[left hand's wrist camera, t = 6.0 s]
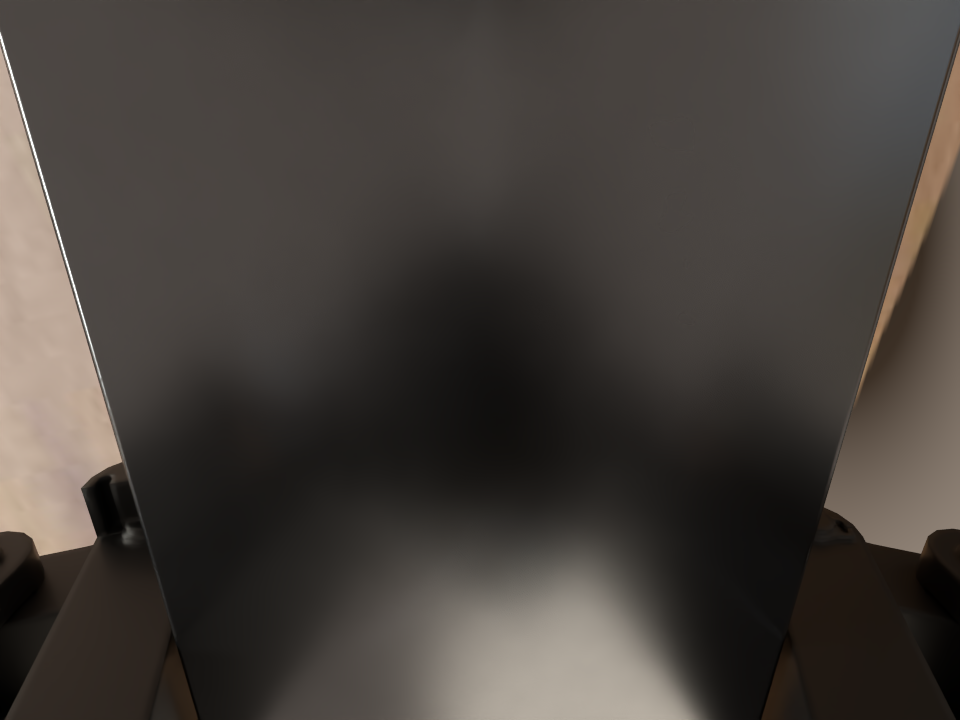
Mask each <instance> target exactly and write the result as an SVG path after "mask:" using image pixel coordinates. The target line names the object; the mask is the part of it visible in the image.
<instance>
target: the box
mask: <svg viewBox="0 0 960 720" xmlns="http://www.w3.org/2000/svg"><path fill="white" fill-rule="evenodd" d="M959 43H960V0H0V46H1V50H2V53H3V56H4V60H5V63H6V67H7V70H8V73H9V77H10V80H11V84H12V87H13V90H14V94H15V97H16V101H17V104H18V108H19V111H20V114H21V118H22V121H23V125H24V128H25V131H26V135H27V138H28V142H29V145H30V148H31V152H32V155H33V159H34V162H35V165H36V169H37V172H38V176H39V179H40V182H41V186H42V189H43V193H44V196H45V200H46V203H47V206H48V210H49V213H50V217H51V220H52V223H53V227H54V230H55V234H56V237H57V240H58V244H59V247H60V251H61V254H62V257H63V261H64V264H65V268H66V271H67V274H68V278H69V281H70V285H71V288H72V292H73V295H74V298H75V302H76V305H77V309H78V312H79V315H80V319H81V322H82V326H83V329H84V332H85V336H86V339H87V343H88V346H89V349H90V353H91V356H92V360H93V363H94V367H95V370H96V373H97V377H98V380H99V384H100V387H101V390H102V394H103V397H104V401H105V404H106V407H107V411H108V414H109V418H110V421H111V424H112V428H113V431H114V435H115V438H116V441H117V445H118V448H119V452H120V455H121V459H122V462H123V465H124V469H125V472H126V476H127V479H128V482H129V486H130V489H131V493H132V496H133V499H134V503H135V506H136V510H137V513H138V516H139V520H140V523H141V527H142V530H143V533H144V537H145V540H146V544H147V547H148V551H149V554H150V557H151V561H152V564H153V568H154V571H155V574H156V578H157V581H158V585H159V588H160V591H161V595H162V598H163V602H164V605H165V608H166V612H167V615H168V619H169V622H170V625H171V629H172V632H173V636H174V639H175V643H176V646H177V649H178V653H179V656H180V660H181V663H182V666H183V670H184V673H185V677H186V680H187V683H188V687H189V690H190V694H191V697H192V700H193V704H194V707H195V711H196V714H197V718H198V720H761V719H762V715H763V712H764V709H765V705H766V702H767V698H768V695H769V692H770V688H771V685H772V681H773V678H774V675H775V671H776V668H777V664H778V661H779V657H780V654H781V651H782V647H783V644H784V640H785V637H786V634H787V630H788V627H789V623H790V620H791V617H792V613H793V610H794V606H795V603H796V599H797V596H798V593H799V589H800V586H801V582H802V579H803V576H804V572H805V569H806V565H807V562H808V559H809V555H810V552H811V548H812V545H813V541H814V538H815V535H816V531H817V528H818V524H819V521H820V518H821V514H822V511H823V507H824V504H825V500H826V497H827V494H828V490H829V487H830V483H831V480H832V477H833V473H834V470H835V466H836V463H837V460H838V456H839V453H840V449H841V446H842V442H843V439H844V436H845V432H846V429H847V425H848V422H849V419H850V415H851V412H852V408H853V405H854V402H855V398H856V395H857V391H858V388H859V385H860V381H861V378H862V374H863V371H864V367H865V364H866V361H867V357H868V354H869V350H870V347H871V344H872V340H873V337H874V333H875V330H876V327H877V323H878V320H879V316H880V313H881V309H882V306H883V303H884V299H885V296H886V292H887V289H888V286H889V282H890V279H891V275H892V272H893V269H894V265H895V262H896V258H897V255H898V251H899V248H900V245H901V241H902V238H903V234H904V231H905V228H906V224H907V221H908V217H909V214H910V211H911V207H912V204H913V200H914V197H915V193H916V190H917V187H918V183H919V180H920V176H921V173H922V170H923V166H924V163H925V159H926V156H927V153H928V149H929V146H930V142H931V139H932V135H933V132H934V129H935V125H936V122H937V118H938V115H939V112H940V108H941V105H942V101H943V98H944V95H945V91H946V88H947V84H948V81H949V77H950V74H951V71H952V67H953V64H954V60H955V57H956V54H957V50H958V47H959Z"/></svg>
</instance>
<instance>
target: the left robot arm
mask: <svg viewBox="0 0 960 720" xmlns="http://www.w3.org/2000/svg"><path fill="white" fill-rule="evenodd" d="M81 490H82V493H83V496H84V499H85V502H86V505H87V508H88V511H89V514H90V517H91V520H92V523H93V526H94V529H95V532H96V535H97V539H96V541H95V543H94V545H91V546H87V547H83V548H78V549H73V550H68V551H63V552H58V553H53V554H48V555H43V556H39V555H38V552H37V549H36V547H35V544H34V542H33V539H32V538H30V537H29V536H28V535H26V534H25V533H21V532H10V531H6V532H0V720H198V718H197V714H196V711H195V707H194V704H193V700H192V697H191V694H190V690H189V687H188V683H187V680H186V677H185V673H184V670H183V666H182V663H181V660H180V656H179V653H178V649H177V646H176V643H175V639H174V636H173V632H172V629H171V625H170V622H169V619H168V615H167V612H166V608H165V605H164V602H163V598H162V595H161V591H160V588H159V585H158V581H157V578H156V574H155V571H154V568H153V564H152V561H151V557H150V554H149V551H148V547H147V544H146V540H145V537H144V533H143V530H142V527H141V523H140V520H139V516H138V513H137V510H136V506H135V503H134V499H133V496H132V493H131V489H130V486H129V482H128V479H127V476H126V472H125V469H124V465H123V462H121V463H119V464H116V465H114V466H111V467H109V468H107V469H105V470H103V471H102V472H100V473H98V474H97V475H95V476H93V477H92V478H91V479H90V480H89V481H88V482H87V483H86V484H85V485H84V486H83V487H82V488H81ZM761 720H960V530H958V529H945V530H936V531H935V532H934V533H932V534H931V535H929V536H928V538H927V540H926V543H925V546H924V548H923V551H922V553H921V554H919V553H914V552H909V551H904V550H899V549H894V548H889V547H884V546H879V545H874V544H870V543H867V542H865V540H864V538H863V536H862V535H861V534H860V533H859V531H858V530H857V529H856V528H855V526H854V525H853V524H852V523H850V522H849V521H847V520H846V519H844V518H843V517H842V516H840V515H839V514H837V513H835V512H833V511H830V510H828V509H826V508H824V507H823V511H822V514H821V518H820V521H819V524H818V528H817V531H816V535H815V538H814V541H813V545H812V548H811V552H810V555H809V559H808V562H807V565H806V569H805V572H804V576H803V579H802V582H801V586H800V589H799V593H798V596H797V599H796V603H795V606H794V610H793V613H792V617H791V620H790V623H789V627H788V630H787V634H786V637H785V640H784V644H783V647H782V651H781V654H780V657H779V661H778V664H777V668H776V671H775V675H774V678H773V681H772V685H771V688H770V692H769V695H768V698H767V702H766V705H765V709H764V712H763V715H762V719H761Z"/></svg>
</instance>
